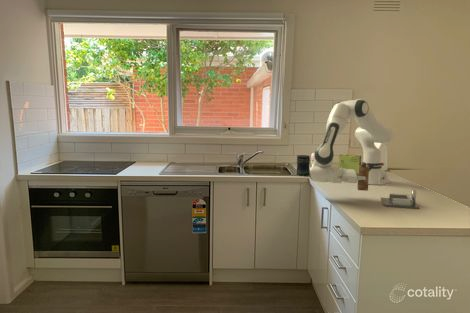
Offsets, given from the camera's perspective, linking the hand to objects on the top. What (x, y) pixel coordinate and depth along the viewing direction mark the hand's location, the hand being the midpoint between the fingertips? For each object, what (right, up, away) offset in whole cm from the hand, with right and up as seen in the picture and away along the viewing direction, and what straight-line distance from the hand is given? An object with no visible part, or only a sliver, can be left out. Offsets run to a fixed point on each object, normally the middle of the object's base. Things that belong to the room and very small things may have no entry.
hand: (364, 176), depth 174 cm
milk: (+48, 0, +93) cm, 105 cm away
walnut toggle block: (-1, -7, +1) cm, 7 cm away
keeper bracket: (+16, -14, -4) cm, 22 cm away
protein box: (+17, -3, +72) cm, 74 cm away
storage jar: (-19, -4, +72) cm, 75 cm away
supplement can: (-5, -1, +87) cm, 87 cm away
